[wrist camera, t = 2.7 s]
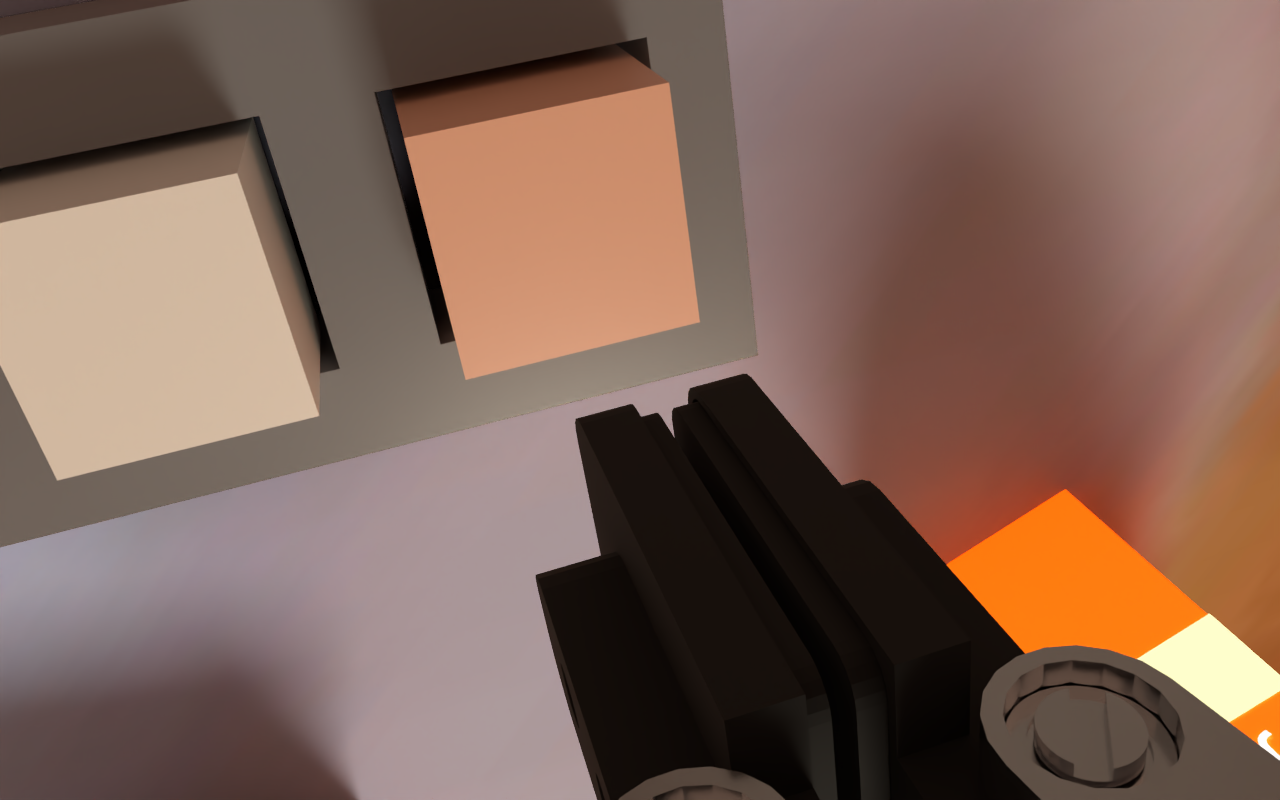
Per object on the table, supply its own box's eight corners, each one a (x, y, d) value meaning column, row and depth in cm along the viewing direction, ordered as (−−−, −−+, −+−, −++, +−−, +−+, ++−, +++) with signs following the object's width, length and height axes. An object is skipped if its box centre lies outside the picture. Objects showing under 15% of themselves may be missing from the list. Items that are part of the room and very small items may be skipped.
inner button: (613, 42, 21) (669, 82, 18) (644, 250, 23) (700, 322, 20) (391, 88, 20) (403, 138, 17) (444, 297, 23) (465, 379, 19)
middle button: (252, 115, 20) (237, 173, 17) (320, 326, 22) (319, 416, 19) (5, 165, 19) (-64, 236, 16) (100, 378, 22) (57, 480, 18)
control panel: (666, -105, 21) (712, -96, 19) (715, 303, 26) (757, 355, 23) (-578, 123, 18) (-728, 170, 16) (-280, 546, 23) (-358, 638, 20)
